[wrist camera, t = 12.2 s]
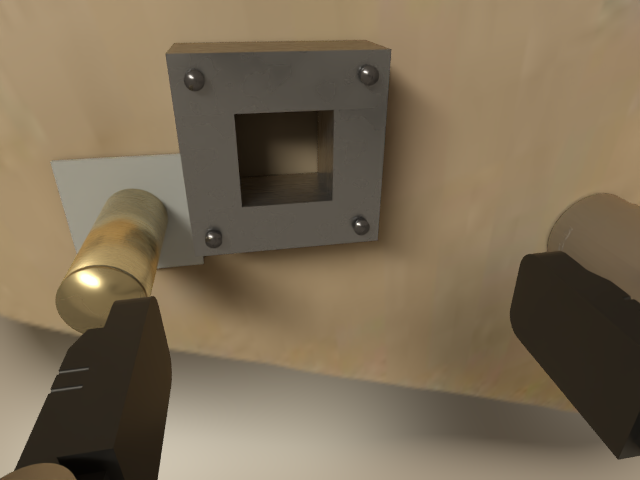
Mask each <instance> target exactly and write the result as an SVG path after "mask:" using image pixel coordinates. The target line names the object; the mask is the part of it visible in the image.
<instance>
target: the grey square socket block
mask: <svg viewBox="0 0 640 480" xmlns="http://www.w3.org/2000/svg"><path fill="white" fill-rule="evenodd" d="M166 61H167V67H168V74H169V81H170V88H171V95H172V102H173V108H174V115H175V122H176V129H177V136H178V143H179V149H180V156H181V163H182V170H183V177H184V184H185V190H186V197H187V204H188V211H189V218H190V225H191V232H192V238H193V245H194V252H195V257H199V256H210V255H221V254H232V253H243V252H254V251H265V250H276V249H287V248H298V247H310V246H321V245H332V244H343V243H354V242H365V241H376V240H378V229H379V215H380V201H381V187H382V173H383V159H384V145H385V131H386V117H387V103H388V89H389V75H390V61H391V49H389V48H386V47H383V46H381V45H378V44H375V43H372V42H370V41H367V40H343V41H281V42H218V43H174V44H173V45H172V46H171V48H170V49H169V50H168V51H167V52H166ZM295 111H318V173H302V174H287V175H271V176H255V177H240V178H239V166H238V155H237V143H236V131H235V119H234V114H246V113H271V112H295Z"/></svg>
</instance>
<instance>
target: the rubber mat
mask: <svg viewBox="0 0 640 480" xmlns="http://www.w3.org/2000/svg"><path fill="white" fill-rule="evenodd" d="M50 163H51V166H52V169H53V173H54V176H55V180H56V183H57V187H58V190H59V194H60V197H61V201H62V204H63V208H64V211H65V215H66V218H67V222H68V225H69V229H70V232H71V236H72V239H73V243H74V246H75V249H76V253H77V254H78V252H79V250H80V248H81V247H82V245H83V243H84V241H85V239H86V237H87V236H88V234H89V232H90V230H91V228H92V227H93V225H94V223H95V221H96V219H97V217H98V216H99V214H100V212H101V210H102V208H103V206H104V205H105V203H106V201H107V200H108V198H109V197H110V196H112V195H113V194H114V193H116V192H118V191H121V190H124V189H141V190H145V191H147V192H149V193H152V194H153V195H155V196H156V197H157V198H158V199H159V200H160V201H161V202H162V203H163V204H164V206H165V208H166V210H167V214H168V224H167V228H166V232H165V237H164V241H163V245H162V249H161V253H160V258H159V262H158V266H157V268H167V267H177V266H188V265H199V264H204V259H203V256H199V257H195V252H194V245H193V238H192V232H191V225H190V218H189V211H188V204H187V197H186V190H185V184H184V177H183V170H182V163H181V156H180V154H163V155H144V156H126V157H107V158H89V159H71V160H52V161H51V162H50Z"/></svg>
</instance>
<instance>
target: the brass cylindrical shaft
mask: <svg viewBox="0 0 640 480" xmlns="http://www.w3.org/2000/svg"><path fill="white" fill-rule="evenodd" d="M167 224H168V214H167V210H166V208H165V206H164V204H163V203H162V202H161V201H160V200H159V199H158V198H157V197H156V196H155V195H153V194H152V193H149V192H147V191H145V190H141V189H124V190H121V191H118V192H116V193H114V194H113V195H112V196H110V197H109V198H108V200H107V201H106V203H105V205H104V206H103V208H102V210H101V212H100V214H99V216H98V217H97V219H96V221H95V223H94V225H93V227H92V228H91V230H90V232H89V234H88V236H87V237H86V239H85V241H84V243H83V245H82V247H81V248H80V250H79V252H78V254H77V256H76V257H75V259H74V261H73V263H72V265H71V267H70V268H69V270H68V272H67V274H66V276H65V277H64V279H63V281H62V283H61V285H60V287H59V289H58V291H57V294H56V307H57V310H58V313H59V315H60V316H61V318H62V319H63V320H64V321H65V322H66V323H67V324H68V325H69V326H70V327H71V328H73V329H75V330H76V331H78V332H80V333H82V334H84V333H85V332H86V331H87V330H88V329H94V328H103V327H104V326H105V323H106V321H107V318H108V315H109V313H110V310H111V307H112V305H113V303H114V301H116V300H125V299H133V298H142V297H150V295H151V291H152V287H153V283H154V278H155V274H156V270H157V266H158V262H159V258H160V253H161V249H162V245H163V241H164V237H165V232H166V228H167Z"/></svg>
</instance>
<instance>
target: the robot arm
mask: <svg viewBox="0 0 640 480" xmlns="http://www.w3.org/2000/svg"><path fill="white" fill-rule="evenodd" d="M547 248H548V252H544V253H535V254H528V255H526V256H524V257H523V259H522V261H521V263H520V267H519V272H518V276H517V281H516V285H515V290H514V295H513V299H512V304H511V308H510V321H511V325H512V328H513V331H514V333H515V335H516V336H517V338H518V339H519V340H520V341H521V343H522V344H523V345H524V346H525V347H526V349H527V350H528V351H529V352H530V353H531V355H532V356H533V357H534V358H535V360H536V361H537V362H538V363H539V364H540V366H541V367H542V368H543V369H544V370H545V372H546V373H547V374H548V375H549V376H550V378H551V379H552V380H553V381H554V383H555V384H556V385H557V386H558V387H559V389H560V390H561V391H562V392H563V393H564V395H565V396H566V397H567V398H568V400H569V401H570V402H571V403H572V404H573V406H574V407H575V408H576V409H577V410H578V412H579V413H580V414H581V415H582V416H583V418H584V419H585V420H586V421H587V422H588V424H589V425H590V426H591V427H592V428H593V430H594V431H595V432H596V433H597V435H598V436H599V437H600V438H601V439H602V441H603V442H604V443H605V444H606V446H607V447H608V448H609V449H610V450H611V452H612V453H613V454H614V455H615V456H616V458H617V459H624V458H629V457H635V456H640V206H638V205H636V204H631V203H629V202H627V201H625V200H624V199H622V198H620V197H618V196H616V195H613V194H607V193H604V194H596V195H592V196H588V197H586V198H584V199H582V200H580V201H578V202H577V203H575V204H574V205H572V206H571V207H570V208H569V209H568V210H567V211H565V212H564V213H563V214H562V216H561V217H560V218H559V219H558V221H557V222H556V224H555V225H554V227H553V229H552V231H551V234H550V236H549V240H548V246H547ZM171 381H172V369H171V358H170V352H169V348H168V344H167V340H166V335H165V331H164V327H163V323H162V318H161V314H160V310H159V306H158V302H157V300H156V298H155V297H154V296H151V297H142V298H133V299H125V300H116V301H114V303H113V305H112V307H111V310H110V313H109V315H108V318H107V321H106V323H105V326H104V327H103V328H94V329H88V330H87V331H86V332H85V333H84V334H83V335H82V336H81V337H80V338H79V339H78V340H77V341H76V342H75V343H74V344H73V345H72V346H71V347H70V348H69V349H68V351H67V354H66V356H65V358H64V360H63V362H62V365H61V367H60V369H59V375H57V376H56V378H55V380H54V382H53V385H52V387H51V393H50V394H48V396H47V398H46V400H45V403H44V405H43V407H42V409H41V412H40V414H39V416H38V419H37V421H36V423H35V425H34V428H33V430H32V432H31V434H30V436H29V439H28V441H27V443H26V445H25V448H24V450H23V452H22V454H21V457H20V459H19V461H18V463H17V466H16V468H15V470H14V471H13V472H11V473H9V474H7V475H5V476H4V477H2V478H0V480H157V479H158V472H159V466H160V459H161V452H162V444H163V438H164V430H165V424H166V417H167V410H168V404H169V397H170V389H171Z"/></svg>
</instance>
